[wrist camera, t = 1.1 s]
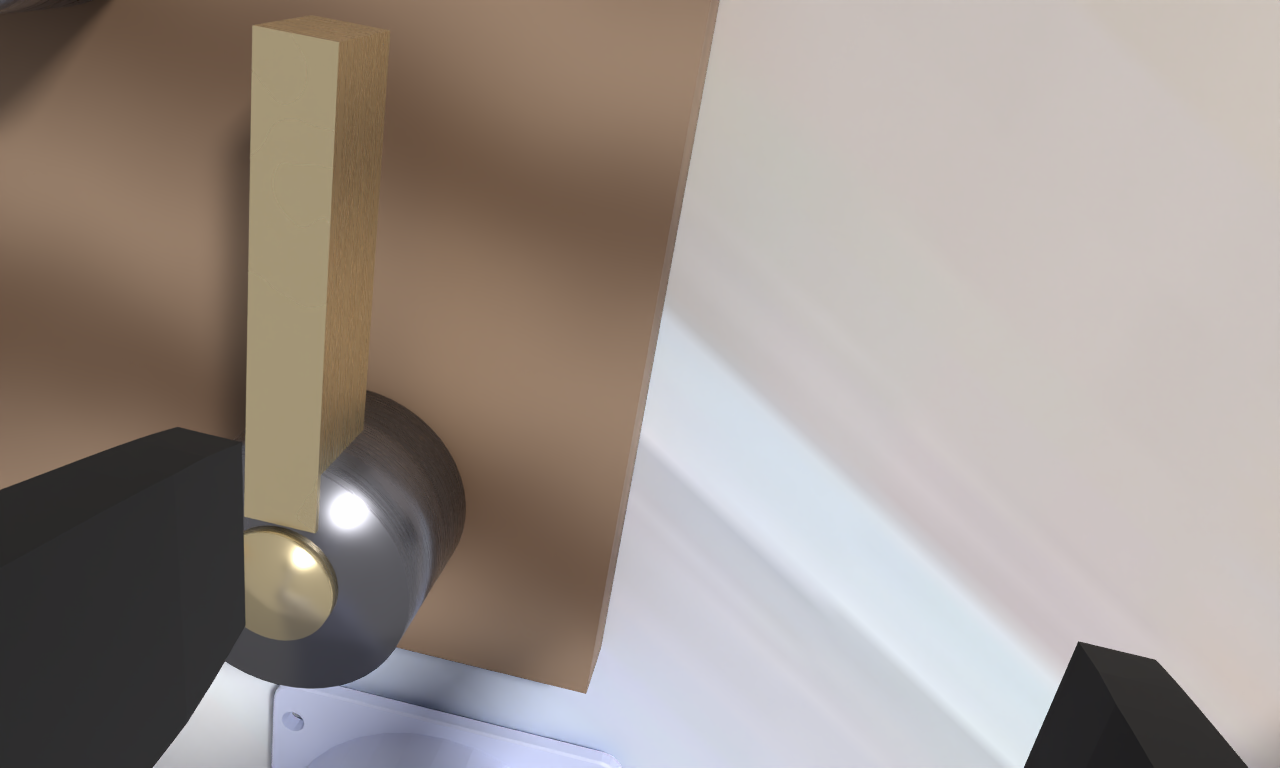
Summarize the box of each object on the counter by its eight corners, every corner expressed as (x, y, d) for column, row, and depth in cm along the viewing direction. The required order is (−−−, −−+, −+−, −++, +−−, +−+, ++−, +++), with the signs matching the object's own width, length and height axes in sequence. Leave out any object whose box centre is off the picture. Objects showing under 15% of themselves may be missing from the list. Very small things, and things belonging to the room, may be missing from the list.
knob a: (454, 614, 21) (392, 726, 18) (242, 563, 22) (147, 664, 19) (519, 41, 17) (452, 66, 14) (252, -10, 17) (130, 4, 14)
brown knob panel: (600, 648, 23) (559, 777, 20) (-130, 472, 25) (-291, 563, 21) (830, -603, 15) (827, -770, 11) (-307, -759, 16) (-625, -951, 13)
